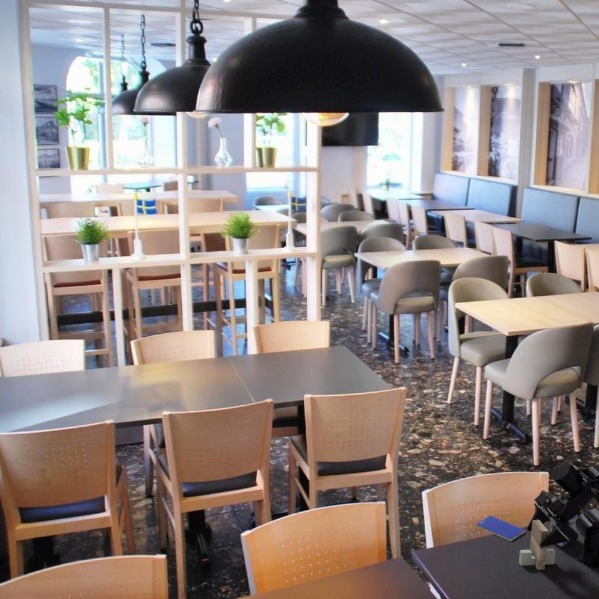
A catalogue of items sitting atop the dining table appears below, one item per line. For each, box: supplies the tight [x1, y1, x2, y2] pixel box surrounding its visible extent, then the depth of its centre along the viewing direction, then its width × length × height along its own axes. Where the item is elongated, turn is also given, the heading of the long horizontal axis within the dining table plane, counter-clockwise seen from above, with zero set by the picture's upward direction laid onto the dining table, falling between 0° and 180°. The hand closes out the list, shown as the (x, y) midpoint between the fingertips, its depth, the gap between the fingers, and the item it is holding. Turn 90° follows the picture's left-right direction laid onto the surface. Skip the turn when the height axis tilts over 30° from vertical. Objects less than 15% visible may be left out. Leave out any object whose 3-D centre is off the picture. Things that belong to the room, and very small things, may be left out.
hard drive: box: [476, 515, 526, 542], centre depth 249 cm, size 2×8×12 cm
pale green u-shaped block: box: [518, 548, 556, 566], centre depth 229 cm, size 10×2×4 cm, turn 96°
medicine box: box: [549, 514, 578, 547], centre depth 242 cm, size 8×4×9 cm, turn 132°
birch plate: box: [529, 520, 549, 570], centre depth 228 cm, size 2×6×12 cm, turn 6°
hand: (534, 538), depth 228 cm, fingers open, 9 cm apart
